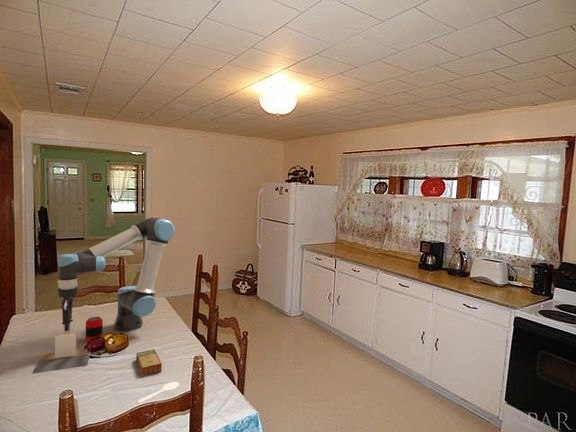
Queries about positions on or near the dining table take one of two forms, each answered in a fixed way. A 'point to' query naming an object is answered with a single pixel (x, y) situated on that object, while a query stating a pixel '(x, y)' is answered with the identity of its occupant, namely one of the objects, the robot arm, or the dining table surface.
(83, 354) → the board
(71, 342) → the tile
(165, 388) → the spoon
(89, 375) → the dining table surface
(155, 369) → the carton
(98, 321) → the soda can
